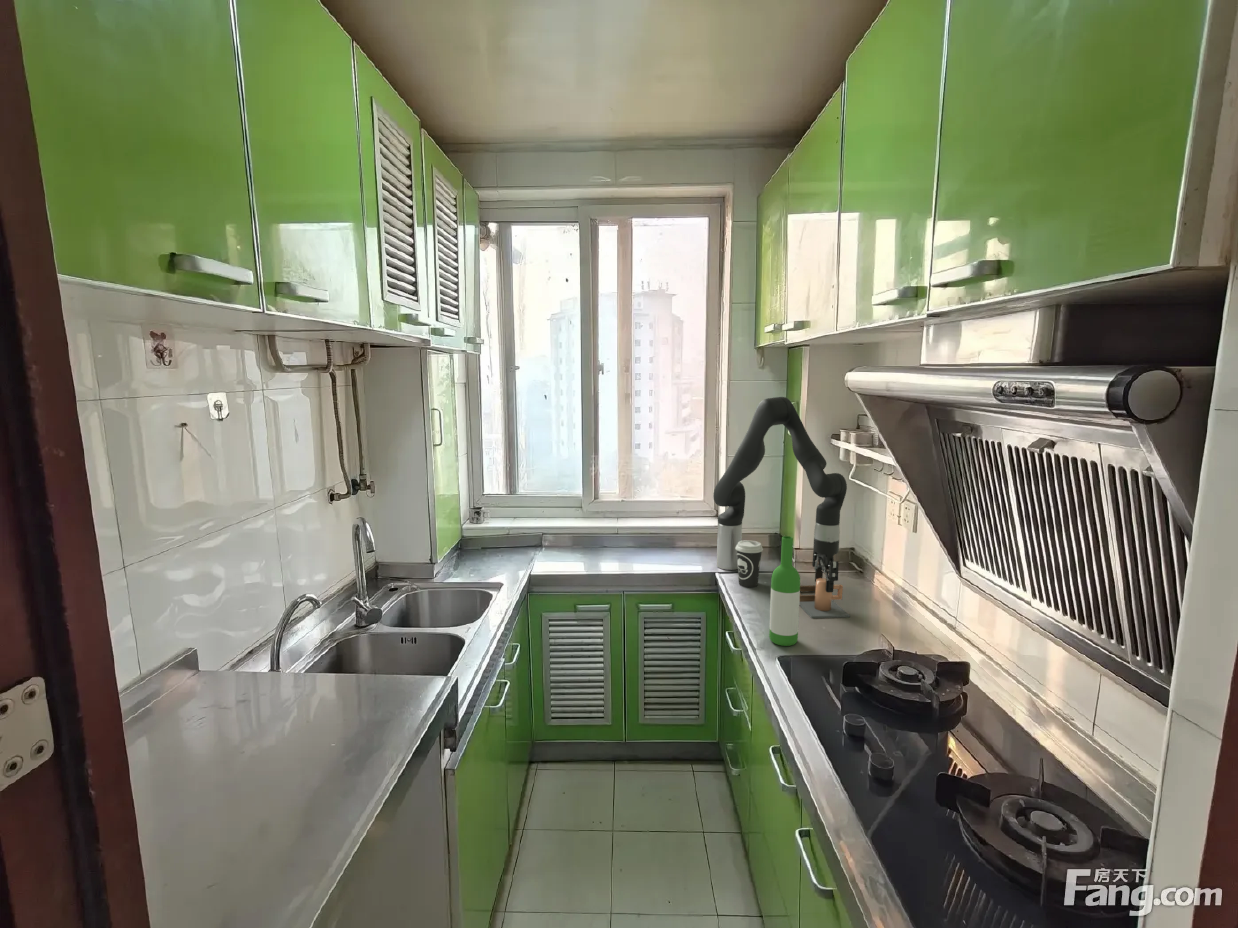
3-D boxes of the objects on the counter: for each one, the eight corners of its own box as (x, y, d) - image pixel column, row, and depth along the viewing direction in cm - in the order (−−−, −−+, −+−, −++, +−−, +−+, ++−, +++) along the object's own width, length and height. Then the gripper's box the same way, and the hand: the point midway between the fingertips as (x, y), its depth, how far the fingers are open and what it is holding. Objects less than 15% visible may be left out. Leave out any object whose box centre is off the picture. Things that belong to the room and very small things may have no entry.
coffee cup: (762, 589, 210) (763, 547, 208) (734, 587, 212) (735, 546, 210) (761, 580, 219) (762, 540, 217) (734, 578, 221) (735, 538, 219)
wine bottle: (792, 634, 174) (797, 533, 169) (801, 647, 166) (806, 541, 162) (765, 635, 174) (769, 533, 169) (773, 647, 166) (777, 541, 161)
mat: (797, 603, 198) (797, 601, 197) (833, 602, 198) (833, 600, 198) (811, 618, 186) (811, 616, 186) (849, 617, 186) (849, 615, 186)
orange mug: (817, 611, 189) (819, 583, 188) (811, 604, 194) (813, 578, 193) (843, 610, 190) (845, 583, 188) (837, 604, 195) (839, 577, 193)
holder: (789, 591, 208) (789, 585, 208) (816, 590, 209) (817, 585, 209) (799, 601, 199) (800, 596, 198) (828, 601, 199) (828, 595, 199)
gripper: (806, 531, 195) (803, 579, 198) (824, 544, 181) (821, 595, 184) (829, 530, 196) (826, 578, 198) (848, 543, 182) (845, 595, 184)
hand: (823, 586), depth 191 cm, fingers open, 8 cm apart
